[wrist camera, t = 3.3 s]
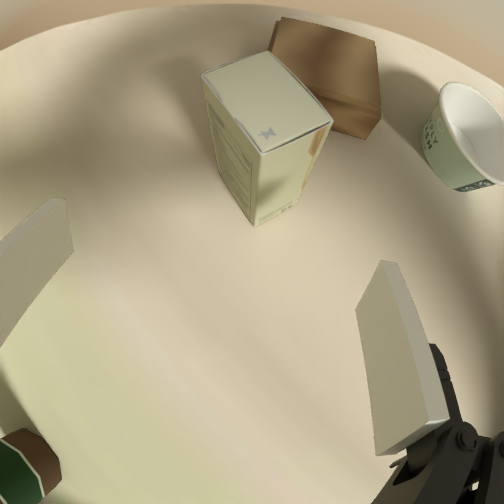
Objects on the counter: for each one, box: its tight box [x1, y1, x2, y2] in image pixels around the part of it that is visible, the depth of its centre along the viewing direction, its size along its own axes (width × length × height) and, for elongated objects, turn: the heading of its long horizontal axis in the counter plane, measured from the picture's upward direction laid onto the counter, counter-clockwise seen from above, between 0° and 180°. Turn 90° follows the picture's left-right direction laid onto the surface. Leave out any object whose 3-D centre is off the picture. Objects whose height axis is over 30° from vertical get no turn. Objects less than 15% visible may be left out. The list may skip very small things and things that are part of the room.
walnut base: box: [268, 17, 381, 140], centre depth 24 cm, size 11×11×5 cm
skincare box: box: [201, 51, 333, 227], centre depth 19 cm, size 6×4×12 cm
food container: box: [421, 82, 504, 192], centre depth 23 cm, size 12×12×6 cm
